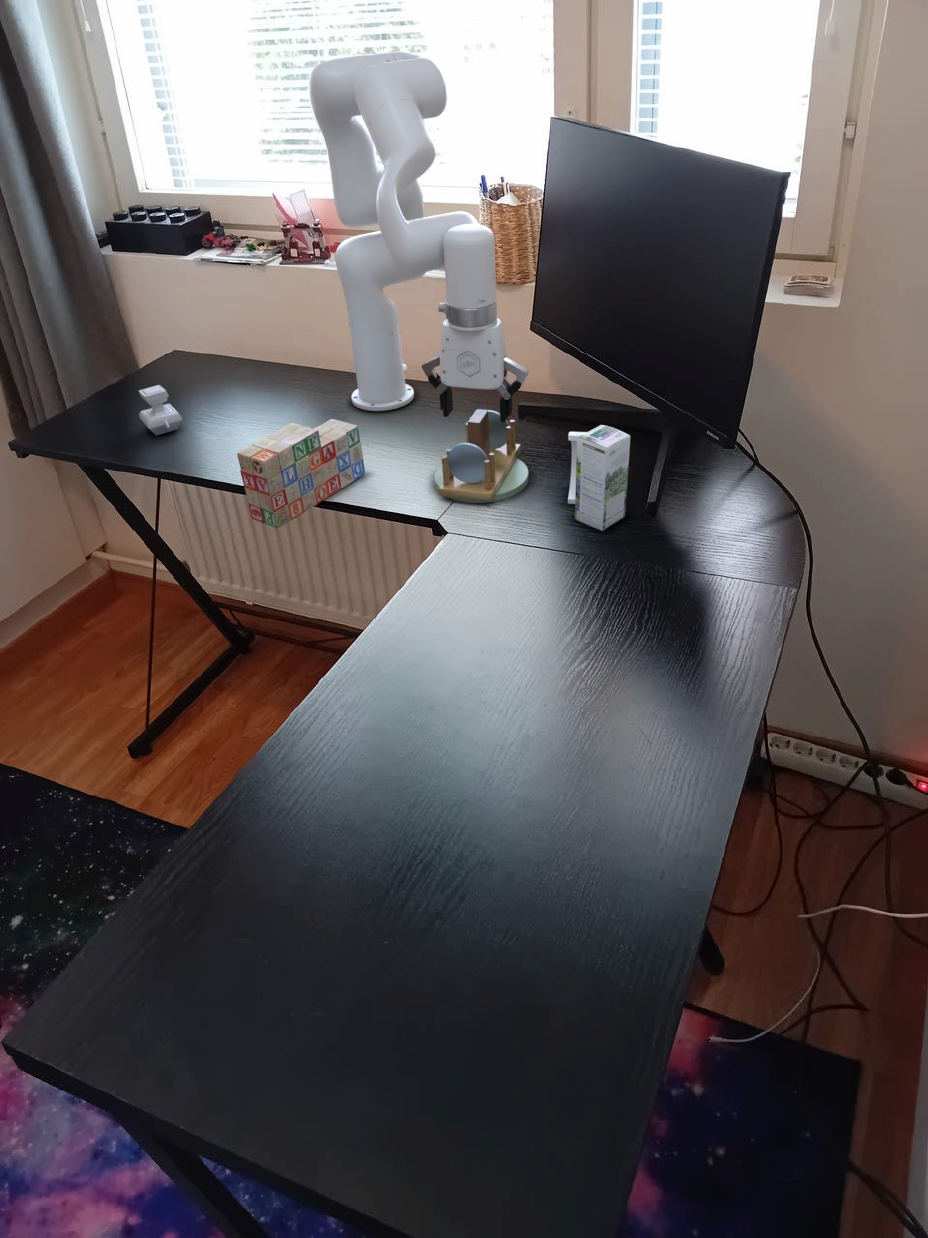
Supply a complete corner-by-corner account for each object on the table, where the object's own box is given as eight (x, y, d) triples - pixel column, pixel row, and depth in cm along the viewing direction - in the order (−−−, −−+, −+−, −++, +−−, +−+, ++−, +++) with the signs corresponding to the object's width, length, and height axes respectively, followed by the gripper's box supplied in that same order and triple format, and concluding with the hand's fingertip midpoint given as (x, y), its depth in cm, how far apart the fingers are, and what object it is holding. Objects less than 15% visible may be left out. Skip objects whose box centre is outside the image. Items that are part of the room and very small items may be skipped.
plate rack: (491, 500, 151) (488, 442, 145) (438, 494, 154) (433, 437, 148) (520, 450, 165) (519, 395, 159) (471, 445, 167) (468, 391, 161)
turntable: (450, 454, 168) (450, 448, 168) (538, 461, 164) (538, 455, 163) (422, 498, 156) (421, 491, 155) (515, 507, 152) (515, 500, 151)
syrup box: (597, 505, 151) (599, 422, 142) (626, 518, 147) (631, 433, 139) (574, 520, 148) (575, 435, 139) (603, 532, 144) (606, 446, 135)
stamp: (187, 433, 182) (177, 392, 177) (154, 442, 180) (142, 401, 175) (173, 417, 188) (162, 377, 183) (140, 427, 186) (129, 386, 181)
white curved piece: (567, 503, 152) (568, 435, 145) (571, 485, 157) (572, 418, 149) (596, 505, 151) (598, 436, 144) (599, 486, 156) (601, 419, 149)
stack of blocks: (340, 466, 167) (329, 401, 160) (366, 474, 164) (357, 408, 157) (250, 519, 154) (235, 451, 147) (277, 529, 151) (262, 460, 143)
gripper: (410, 318, 143) (419, 421, 153) (521, 325, 138) (522, 431, 149) (426, 300, 148) (433, 401, 159) (533, 307, 144) (533, 410, 154)
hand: (476, 415), depth 154 cm, fingers open, 9 cm apart
